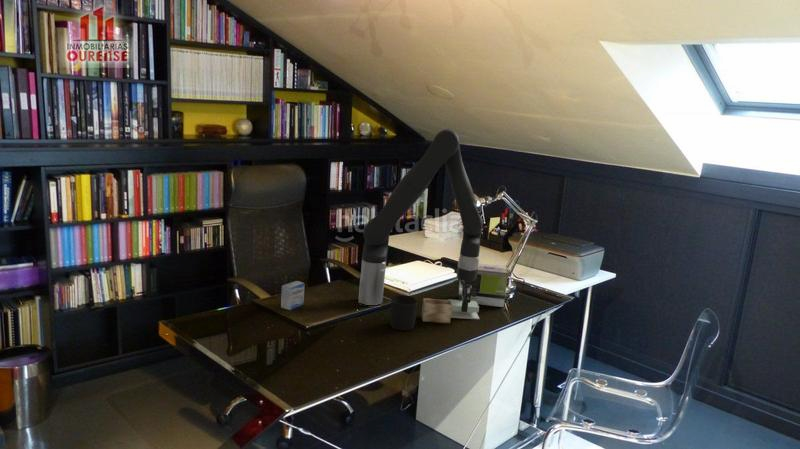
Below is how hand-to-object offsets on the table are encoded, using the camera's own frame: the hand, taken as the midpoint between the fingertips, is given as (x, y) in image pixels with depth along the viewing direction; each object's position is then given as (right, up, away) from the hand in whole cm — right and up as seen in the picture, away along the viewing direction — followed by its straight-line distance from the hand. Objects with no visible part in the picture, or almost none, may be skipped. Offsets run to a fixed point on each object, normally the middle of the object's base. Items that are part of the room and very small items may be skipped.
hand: (462, 308), depth 230 cm
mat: (0, -2, +1) cm, 3 cm away
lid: (0, 0, 0) cm, 0 cm away
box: (-11, -3, -7) cm, 13 cm away
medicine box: (-64, +2, -7) cm, 64 cm away
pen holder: (-23, -4, -16) cm, 28 cm away
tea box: (+11, 0, +17) cm, 20 cm away
